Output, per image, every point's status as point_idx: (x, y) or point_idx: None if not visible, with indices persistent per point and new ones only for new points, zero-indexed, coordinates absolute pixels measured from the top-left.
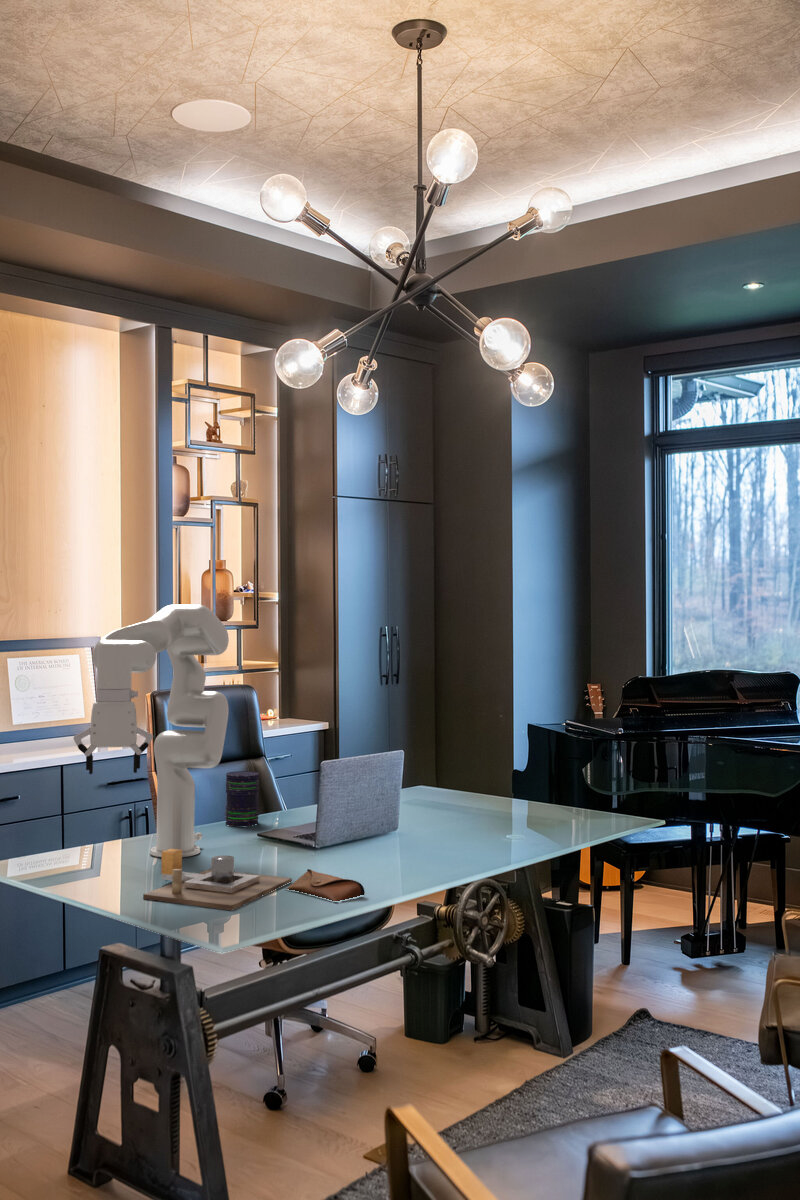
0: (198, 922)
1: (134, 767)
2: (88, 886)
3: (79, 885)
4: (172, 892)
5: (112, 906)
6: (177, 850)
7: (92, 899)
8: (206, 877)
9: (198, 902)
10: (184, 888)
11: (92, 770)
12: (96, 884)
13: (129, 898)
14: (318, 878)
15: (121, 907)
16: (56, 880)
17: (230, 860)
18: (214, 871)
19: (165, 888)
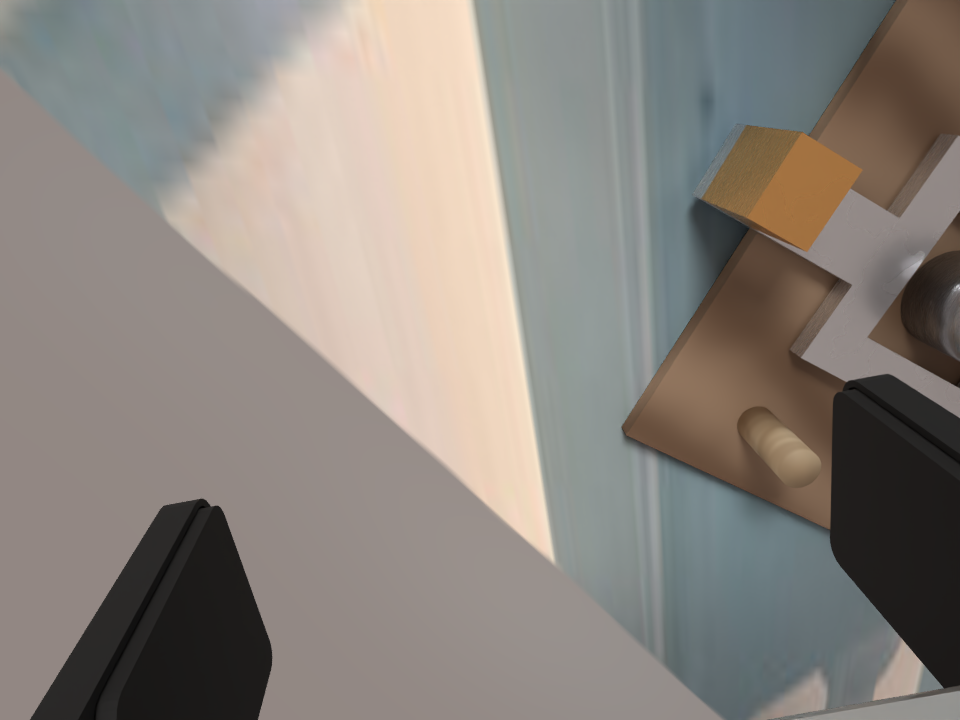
0: (803, 676)
1: (883, 602)
2: (353, 212)
3: (304, 190)
4: (740, 433)
5: (519, 517)
6: (836, 189)
7: (424, 427)
8: (902, 282)
9: (824, 525)
10: (788, 351)
11: (264, 692)
12: (381, 173)
13: (567, 415)
14: None
15: (553, 529)
16: (151, 75)
17: None
18: (955, 357)
19: (710, 348)
